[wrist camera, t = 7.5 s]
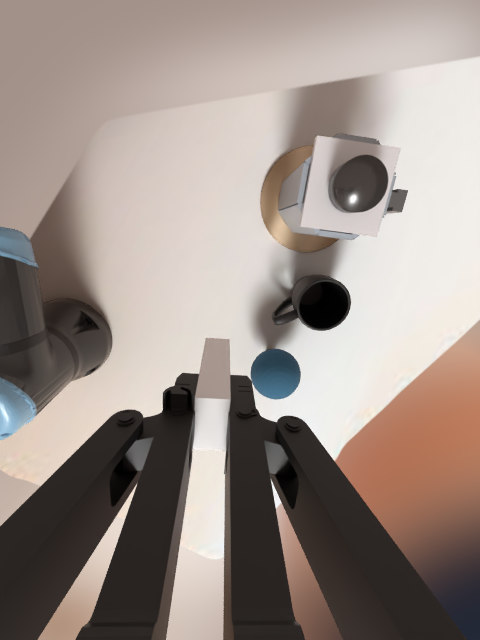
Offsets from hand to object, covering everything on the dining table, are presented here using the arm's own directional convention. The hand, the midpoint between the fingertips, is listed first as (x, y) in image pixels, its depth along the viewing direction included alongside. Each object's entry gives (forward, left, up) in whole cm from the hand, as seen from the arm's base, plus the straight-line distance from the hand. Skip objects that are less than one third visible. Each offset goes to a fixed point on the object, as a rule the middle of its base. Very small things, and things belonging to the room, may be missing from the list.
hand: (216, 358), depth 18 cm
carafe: (+13, +14, -33) cm, 38 cm away
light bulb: (+10, -14, -34) cm, 38 cm away
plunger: (+12, +14, -25) cm, 31 cm away
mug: (+13, -2, -34) cm, 36 cm away
